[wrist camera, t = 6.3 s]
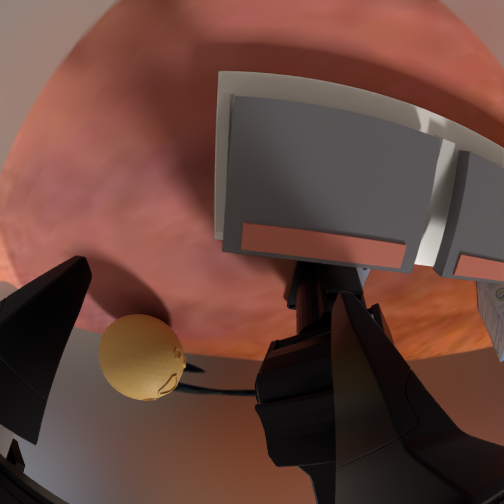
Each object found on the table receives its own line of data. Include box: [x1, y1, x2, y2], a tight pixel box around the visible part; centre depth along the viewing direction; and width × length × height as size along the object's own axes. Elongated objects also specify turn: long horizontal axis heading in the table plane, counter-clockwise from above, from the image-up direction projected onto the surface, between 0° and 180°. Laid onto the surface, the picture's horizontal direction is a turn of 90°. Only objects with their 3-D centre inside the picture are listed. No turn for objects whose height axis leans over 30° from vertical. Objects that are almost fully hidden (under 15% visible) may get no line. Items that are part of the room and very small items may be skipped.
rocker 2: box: [433, 150, 504, 284], centre depth 13 cm, size 8×11×2 cm
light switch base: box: [214, 71, 504, 266], centre depth 16 cm, size 11×27×4 cm, turn 86°
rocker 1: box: [222, 96, 440, 274], centre depth 13 cm, size 8×11×2 cm
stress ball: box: [99, 314, 186, 401], centre depth 26 cm, size 10×10×10 cm
